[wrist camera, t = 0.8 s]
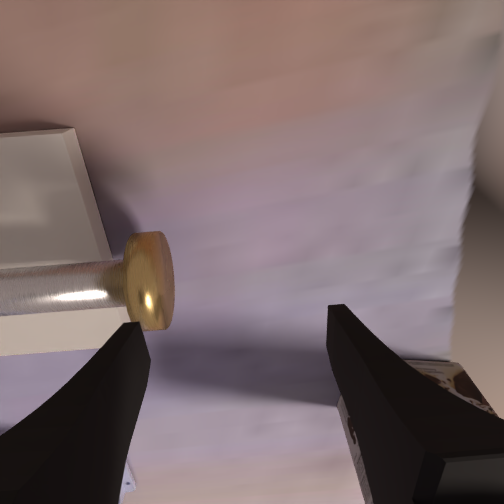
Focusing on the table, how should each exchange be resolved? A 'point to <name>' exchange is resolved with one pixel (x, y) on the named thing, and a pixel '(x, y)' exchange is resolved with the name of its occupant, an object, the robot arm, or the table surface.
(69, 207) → the shaft housing
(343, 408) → the coffee box
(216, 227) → the table surface
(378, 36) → the table surface
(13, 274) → the shaft
